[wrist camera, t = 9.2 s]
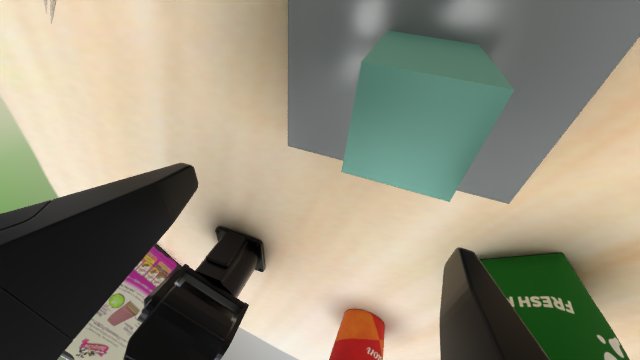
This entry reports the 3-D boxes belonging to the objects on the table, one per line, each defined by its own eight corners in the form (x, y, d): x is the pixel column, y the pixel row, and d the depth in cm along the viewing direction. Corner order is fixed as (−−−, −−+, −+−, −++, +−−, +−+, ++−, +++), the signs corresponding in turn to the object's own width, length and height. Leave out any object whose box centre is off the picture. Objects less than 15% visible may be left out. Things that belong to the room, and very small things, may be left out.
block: (443, 127, 15) (449, 201, 10) (370, 110, 16) (341, 171, 11) (479, 44, 12) (514, 89, 7) (388, 30, 13) (361, 61, 8)
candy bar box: (137, 241, 45) (27, 338, 33) (150, 237, 42) (35, 341, 30) (182, 280, 49) (100, 379, 37) (196, 279, 46) (112, 385, 34)
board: (505, 194, 18) (508, 203, 17) (292, 140, 21) (287, 145, 20) (697, -64, 9) (720, -68, 9) (296, -88, 13) (288, -92, 12)
